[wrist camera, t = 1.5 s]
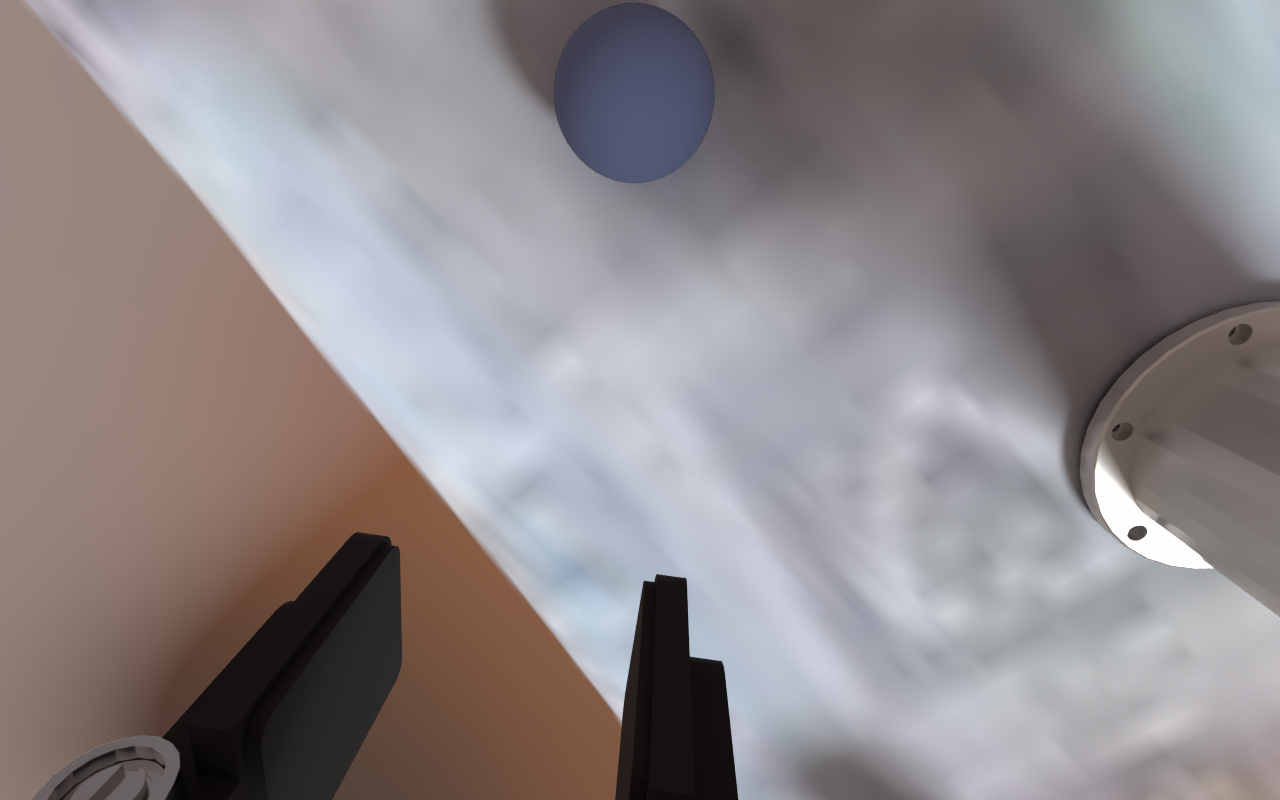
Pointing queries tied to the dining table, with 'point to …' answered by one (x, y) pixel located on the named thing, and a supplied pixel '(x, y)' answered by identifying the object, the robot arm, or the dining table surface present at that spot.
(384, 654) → the robot arm
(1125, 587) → the dining table surface
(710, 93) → the dark blue ball
